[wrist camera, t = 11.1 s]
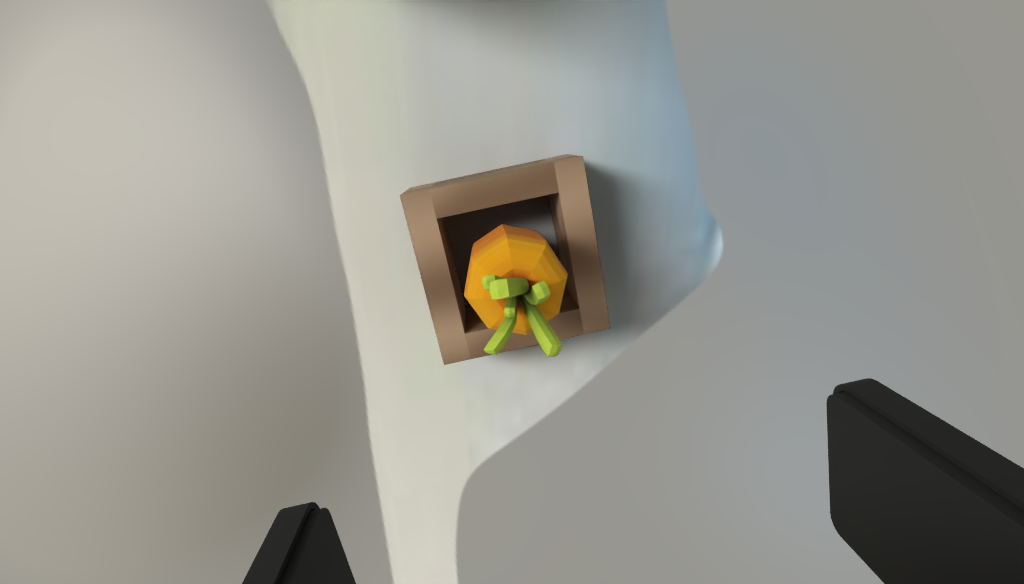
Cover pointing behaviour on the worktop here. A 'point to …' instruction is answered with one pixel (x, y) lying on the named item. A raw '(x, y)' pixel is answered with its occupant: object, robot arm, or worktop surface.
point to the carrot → (516, 286)
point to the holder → (552, 177)
